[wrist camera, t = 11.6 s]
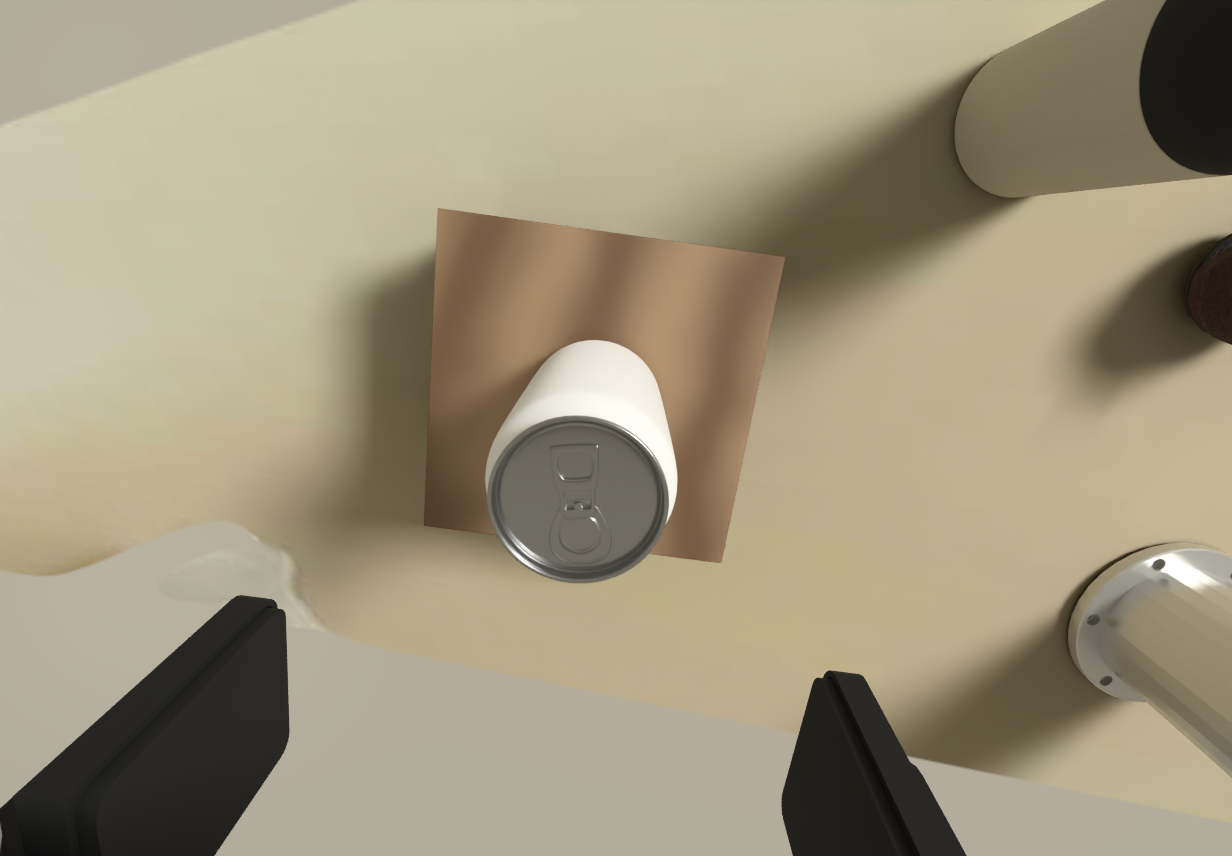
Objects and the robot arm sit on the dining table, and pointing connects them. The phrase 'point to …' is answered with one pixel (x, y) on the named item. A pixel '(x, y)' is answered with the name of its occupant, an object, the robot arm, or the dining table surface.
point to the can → (583, 466)
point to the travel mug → (1104, 101)
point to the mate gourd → (1212, 291)
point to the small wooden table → (595, 310)
